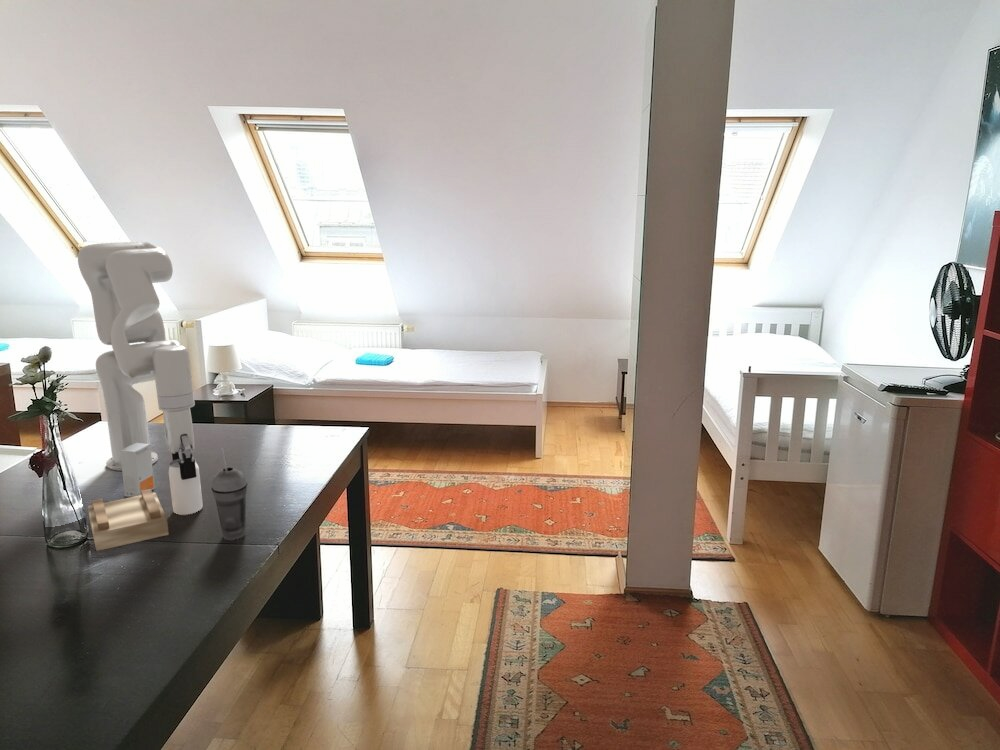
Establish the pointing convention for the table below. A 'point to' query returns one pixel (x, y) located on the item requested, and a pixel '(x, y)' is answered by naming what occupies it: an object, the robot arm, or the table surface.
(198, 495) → the can
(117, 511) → the plinth
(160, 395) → the robot arm
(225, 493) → the beverage cup
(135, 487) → the skincare box
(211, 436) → the table surface
